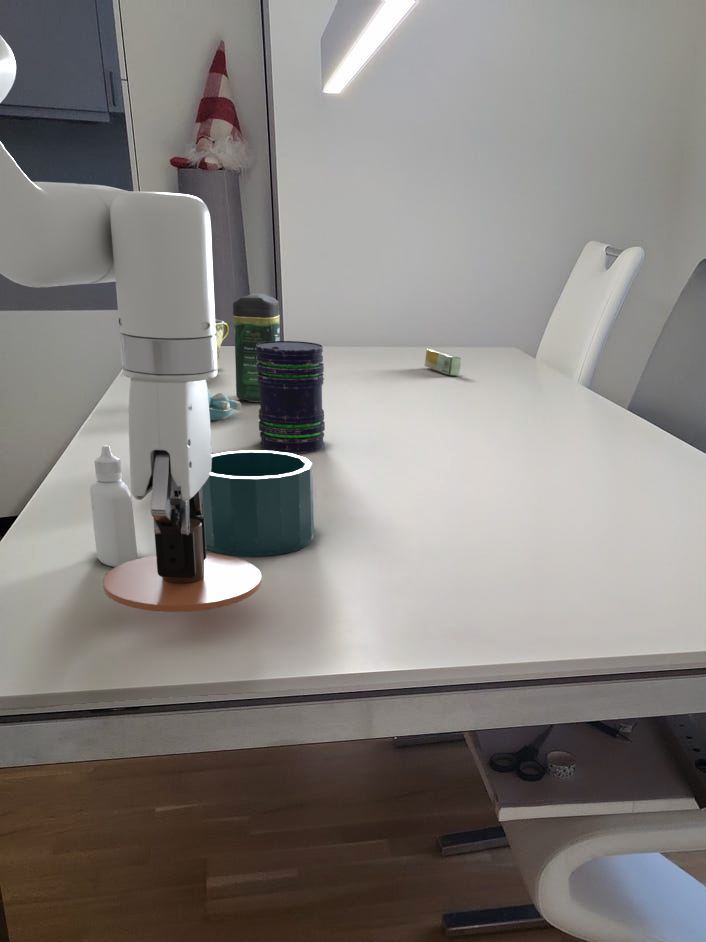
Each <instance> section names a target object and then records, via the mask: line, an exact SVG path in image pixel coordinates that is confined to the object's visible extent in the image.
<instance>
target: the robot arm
mask: <svg viewBox="0 0 706 942" xmlns="http://www.w3.org/2000/svg"><path fill="white" fill-rule="evenodd" d="M16 74H17V63H16V59H15V56H14V53H13V51H12V48H11V47H10V45H9V44H8V43H7V42H6V40H5V39H4V38H3V36H2V35H1V34H0V104H1V103H2V102H3V101H4V100H5V99H6V97H7V96H8V94H9V92H10V91H11V89H12V87H13V85H14V83H15V80H16V76H17V75H16ZM0 275H1V276H3V277H4V278H6V279H8V280H10V282H13V283H15V284H19V285H21V286H25V287H26V288H27V287H29V288H36V289H37V288H52V287H63V286H74V285H94V284H105V283H114V282H115V290H116V302H117V315H118V329H119V343H120V353H121V354H120V355H121V356H120V357H121V368H122V375H123V376H124V377H126V378H129V379H130V381H129V393H128V394H129V395H128V447H129V448H128V449H129V450H128V451H129V475H130V476H129V477H130V492H131V496H133V498H134V499H136V500H138V501H141V500H143V499H144V498H146V496H147V495H149V493H150V492H151V502H150V515H151V517H152V518H153V532H154V543H155V545H154V546H155V555H156V558H157V572H158V575H159V576H161V577H181V578H192V577H194V576H195V574H196V559H195V542H194V532H190V518H193V519H197V520H199V521H200V522H201V523H202V540H203V558H204V560H205V559H206V557H207V553H208V549H206V530H205V517H198V516H203V514H204V502H203V491H202V486H203V485H204V483H205V482H206V481H207V479H208V478H209V476H210V473H211V466H212V453H213V451H212V449H213V447H212V429H211V427H212V426H211V420H210V413H209V401H208V391H209V389H208V390H207V387H208V382H207V380H210V379H214V378H216V377H218V376H219V374H218V370H217V347H216V334H215V333H216V327H215V320H216V308H215V307H216V305H215V285H214V283H215V282H214V264H213V241H212V223H211V215H210V210H209V208H208V206H207V204H206V203H205V202H204V201H203V200H202V199H201V198H199V197H197V196H195V195H191V194H187V193H186V194H185V193H174V192H163V191H135V190H134V191H132V190H131V191H128V190H125V189H121V188H117V187H112V186H107V185H103V184H102V185H101V184H89V183H88V184H87V183H76V182H56V181H55V182H54V181H53V182H52V181H31V179H30V178H29V177H28V176H27V175H26V173H24V171H23V170H22V169H21V167H20V166H19V164H17V162H16V161H15V159H14V158H13V157H12V155H11V154H10V153H9V151H8V150H7V149H6V147H5V146H4V144H3V143H2V142H1V141H0Z"/></svg>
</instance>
